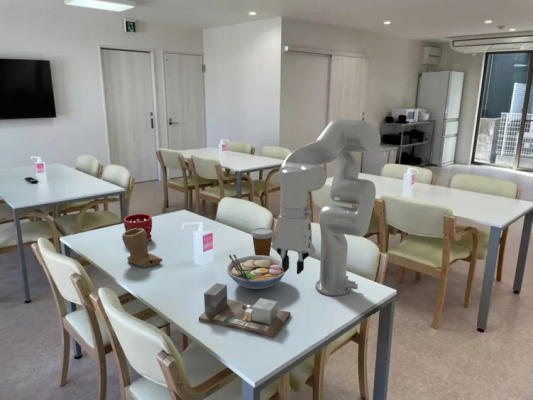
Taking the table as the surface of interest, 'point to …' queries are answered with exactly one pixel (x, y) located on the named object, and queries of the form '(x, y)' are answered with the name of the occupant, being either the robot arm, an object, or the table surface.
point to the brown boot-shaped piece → (139, 248)
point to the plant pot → (139, 223)
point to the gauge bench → (236, 314)
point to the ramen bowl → (255, 271)
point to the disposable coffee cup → (262, 241)
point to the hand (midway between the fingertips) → (292, 270)
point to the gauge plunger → (263, 311)
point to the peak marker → (248, 315)
